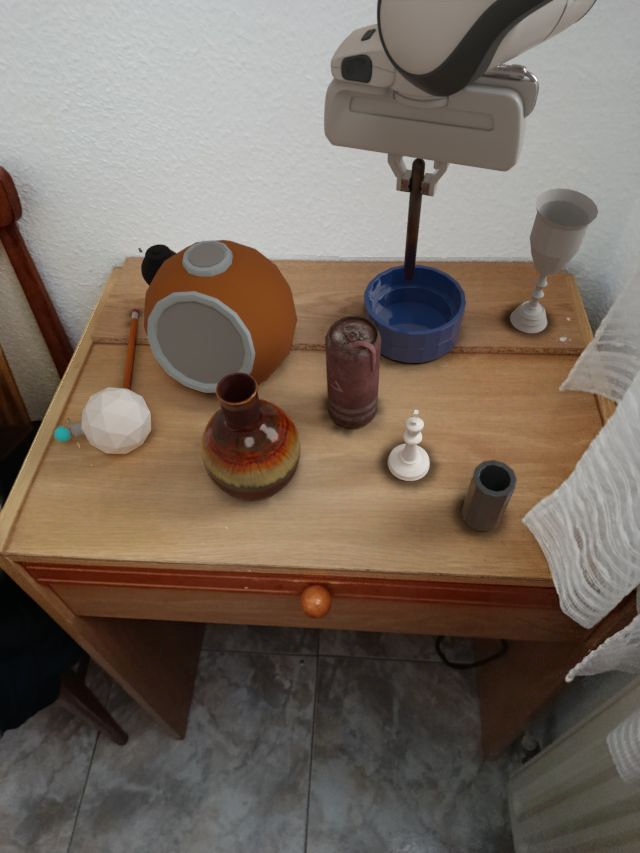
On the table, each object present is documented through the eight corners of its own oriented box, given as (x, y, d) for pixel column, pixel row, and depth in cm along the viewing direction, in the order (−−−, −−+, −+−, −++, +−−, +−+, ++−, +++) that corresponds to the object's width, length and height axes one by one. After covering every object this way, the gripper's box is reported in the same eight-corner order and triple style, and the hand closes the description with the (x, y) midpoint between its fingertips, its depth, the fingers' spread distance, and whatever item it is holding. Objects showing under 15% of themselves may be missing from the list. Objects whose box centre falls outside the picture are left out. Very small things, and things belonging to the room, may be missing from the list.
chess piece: (432, 450, 71) (443, 399, 63) (425, 485, 69) (435, 436, 61) (392, 442, 72) (397, 390, 64) (383, 476, 70) (388, 426, 62)
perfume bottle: (153, 454, 68) (53, 479, 69) (167, 430, 76) (77, 454, 77) (130, 390, 66) (26, 417, 66) (146, 373, 74) (53, 397, 74)
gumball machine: (204, 295, 89) (189, 239, 81) (190, 323, 86) (173, 267, 78) (162, 289, 90) (143, 233, 82) (147, 317, 87) (126, 261, 79)
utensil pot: (503, 504, 67) (519, 466, 60) (496, 536, 65) (512, 501, 58) (466, 493, 68) (478, 455, 61) (457, 525, 66) (469, 489, 59)
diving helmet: (140, 396, 78) (94, 296, 64) (188, 305, 88) (157, 201, 74) (280, 421, 75) (264, 321, 61) (314, 323, 85) (307, 218, 71)
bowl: (468, 308, 85) (475, 275, 80) (446, 376, 78) (452, 344, 73) (379, 289, 88) (381, 256, 83) (350, 352, 81) (350, 320, 76)
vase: (223, 426, 75) (198, 341, 62) (310, 437, 73) (302, 351, 61) (198, 504, 68) (164, 426, 56) (293, 517, 67) (279, 440, 54)
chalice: (494, 308, 85) (524, 195, 70) (537, 297, 86) (575, 183, 71) (519, 344, 81) (556, 231, 66) (564, 331, 82) (610, 218, 67)
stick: (415, 277, 77) (427, 156, 63) (412, 284, 76) (423, 163, 62) (404, 275, 77) (414, 154, 64) (401, 282, 76) (411, 161, 63)
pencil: (139, 312, 87) (137, 308, 86) (127, 415, 76) (125, 410, 76) (133, 313, 87) (131, 308, 86) (120, 415, 76) (118, 411, 76)
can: (360, 439, 73) (362, 363, 61) (318, 415, 75) (313, 337, 64) (387, 407, 75) (394, 328, 64) (347, 384, 78) (346, 305, 66)
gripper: (549, 52, 54) (516, 190, 65) (337, 30, 59) (340, 161, 70) (538, 84, 51) (505, 224, 62) (314, 58, 56) (321, 191, 67)
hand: (416, 190), depth 66 cm, fingers closed on stick, 1 cm apart
